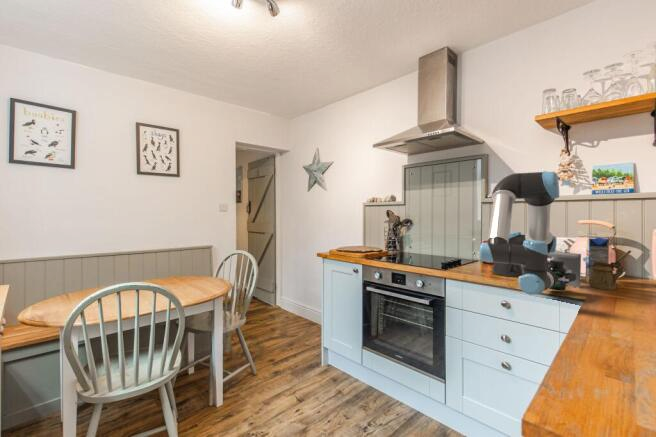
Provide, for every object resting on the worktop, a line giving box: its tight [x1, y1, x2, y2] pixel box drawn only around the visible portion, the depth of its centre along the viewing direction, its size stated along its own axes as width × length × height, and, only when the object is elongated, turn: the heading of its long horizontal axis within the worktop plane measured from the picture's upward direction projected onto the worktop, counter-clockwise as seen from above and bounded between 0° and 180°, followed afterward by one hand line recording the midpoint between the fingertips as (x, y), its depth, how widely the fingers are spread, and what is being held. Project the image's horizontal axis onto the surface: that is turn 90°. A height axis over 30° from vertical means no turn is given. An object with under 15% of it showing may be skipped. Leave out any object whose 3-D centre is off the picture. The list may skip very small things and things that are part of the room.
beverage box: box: [585, 236, 610, 285], centre depth 147 cm, size 7×11×22 cm, turn 145°
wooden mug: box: [588, 250, 632, 291], centre depth 136 cm, size 9×14×18 cm, turn 45°
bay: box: [548, 251, 582, 289], centre depth 137 cm, size 10×11×16 cm
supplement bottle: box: [547, 259, 567, 292], centre depth 129 cm, size 7×7×12 cm
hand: (559, 272), depth 132 cm, fingers closed on supplement bottle, 7 cm apart
